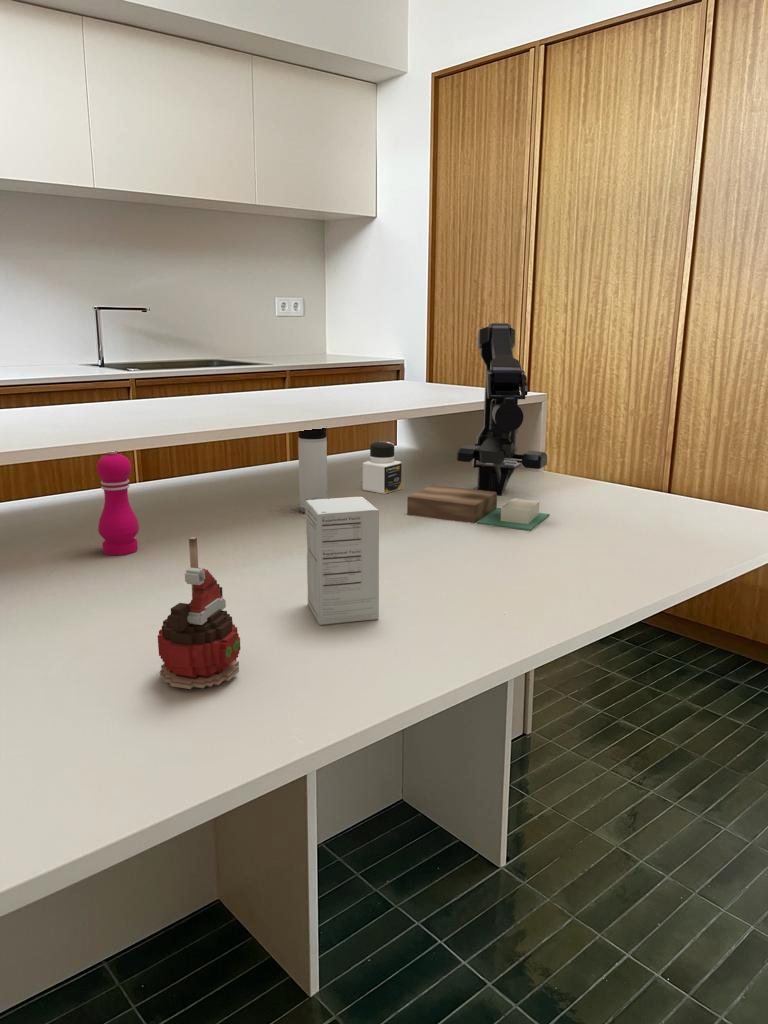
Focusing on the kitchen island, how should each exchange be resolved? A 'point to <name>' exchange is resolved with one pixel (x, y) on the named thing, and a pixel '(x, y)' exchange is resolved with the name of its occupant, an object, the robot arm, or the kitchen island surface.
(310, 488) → the travel mug
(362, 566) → the supplement box
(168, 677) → the cake
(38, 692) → the kitchen island surface
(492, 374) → the robot arm
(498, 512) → the mat
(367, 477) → the medicine bottle
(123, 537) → the pepper mill
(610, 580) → the kitchen island surface
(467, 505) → the deck
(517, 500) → the block
